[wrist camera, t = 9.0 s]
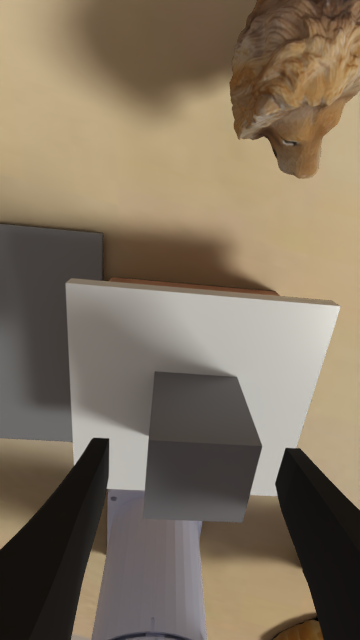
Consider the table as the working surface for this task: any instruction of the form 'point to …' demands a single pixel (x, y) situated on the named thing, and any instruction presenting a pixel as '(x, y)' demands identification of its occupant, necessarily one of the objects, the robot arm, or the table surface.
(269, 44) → the lion figurine
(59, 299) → the mat
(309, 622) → the pastry
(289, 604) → the table surface
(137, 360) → the lid
